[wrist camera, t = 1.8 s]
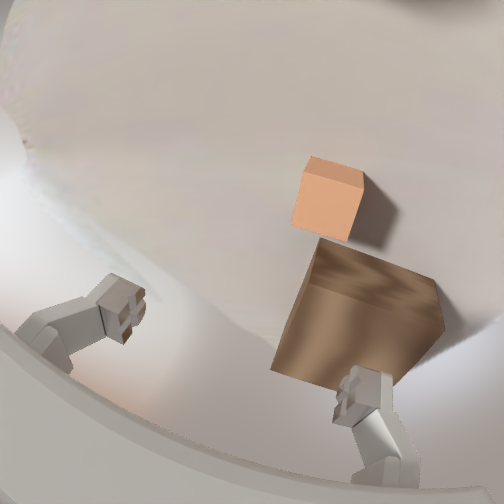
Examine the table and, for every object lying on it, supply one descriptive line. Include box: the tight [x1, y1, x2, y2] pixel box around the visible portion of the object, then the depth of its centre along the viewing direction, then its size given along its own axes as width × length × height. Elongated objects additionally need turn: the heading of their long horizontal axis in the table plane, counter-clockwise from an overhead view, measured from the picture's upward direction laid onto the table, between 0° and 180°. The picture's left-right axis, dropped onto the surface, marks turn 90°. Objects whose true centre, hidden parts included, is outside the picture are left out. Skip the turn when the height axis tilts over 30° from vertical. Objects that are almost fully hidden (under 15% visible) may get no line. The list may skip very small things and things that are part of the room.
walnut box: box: [271, 238, 445, 391], centre depth 31 cm, size 14×14×8 cm
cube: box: [291, 156, 364, 242], centre depth 26 cm, size 5×5×5 cm
